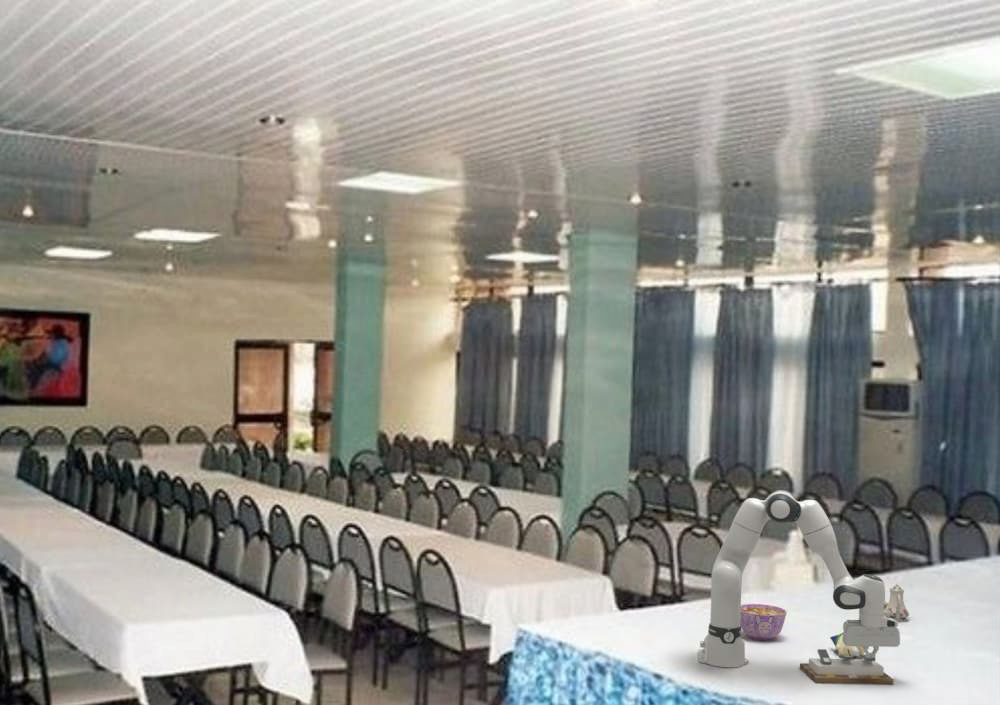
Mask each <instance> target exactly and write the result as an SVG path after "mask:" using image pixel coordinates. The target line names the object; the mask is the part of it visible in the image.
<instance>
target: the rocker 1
mask: <svg viewBox="0 0 1000 705" xmlns="http://www.w3.org/2000/svg"><path fill="white" fill-rule="evenodd" d="M817 653H818V656H819V659H821V661H822V663H823V664H826V665H831V663H832V662H831V660H830V659H831V658H830V655H829V653H828V651H827V649H826V648H825V649H820V648H819V649H817Z"/></svg>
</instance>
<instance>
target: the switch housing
mask: <svg viewBox="0 0 1000 705" xmlns="http://www.w3.org/2000/svg"><path fill="white" fill-rule="evenodd" d="M830 660H831V662H832V663H831V665H826V664H823V663H822V661H821V659H820V658H814V657H813V658H811V657H809V658H808V663H809V667H810V668H811V669H812V670H813V671H814V672H816V673H817V674H820V675H825V674H833V675H878V676H883V672H884V666H882V665H881V664H880V663H878V662H877V661H876V660H875V661H866V660H864V659H863V658H861V659H859V658H854V660H845V659H842V658H830Z"/></svg>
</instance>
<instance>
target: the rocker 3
mask: <svg viewBox="0 0 1000 705" xmlns="http://www.w3.org/2000/svg"><path fill="white" fill-rule="evenodd" d="M859 657H860V658H861V659H864V660H866V661H876V657H875V658H866V653H864V654H860V656H859Z"/></svg>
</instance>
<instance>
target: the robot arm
mask: <svg viewBox="0 0 1000 705" xmlns="http://www.w3.org/2000/svg"><path fill="white" fill-rule="evenodd" d="M770 520H771V521H774V522H776V523H781V524H783V523H796V525H797V527H798V528H799V530H800V533H801V535H802V537H803V539H804V542H805V543H806V544H807V546H808V547H809V549H810V550H811V552H812V553H814V554H816V555H818V556H819V557H820V558H821V559H822V560H823V562H824V564H825V566H826V568H827V570H828V571H829V574H830V576H831V578H832V582H833V593H832V598H833V602H834V603H835V604H834V605H836V607H837V608H838V607H839V608H840V609H842V610H847V611H849V610H858V619H847V620H846V621H844V622H843V624H842V625H843V626H842V629H843V632H842V633H843V639H842V641H843V643H844V644H845V645H846V646H863V649H864V651H865V653H864V654H866V658H875V659H876V654H877V653H878V651H879V650H880V647H883V648H885V647H886V648H887V647H890V648H893V647H894V648H898V647H899V646H900V644H901V636H900V630H899V628H898V626H899V622H897V621H896V620H894V619H892V618H890V617H887V616H885V611H884V603H885V601H886V587H885V582H884V581H883V579H882V578H881V577H880V576H877V575H874V574H867V573H866V574H865V573H863V574H862V575H860V576H859V577H857V578H855V577H853V575H851V573H850V572H849V571H848V569H847V566H846V564H845V563H844V562H845V561H844V560H843V558H842V556H841V554H840V552H839V547H838V541H837V538H836V533H835V531H834V528H833V525H832V524H831V521H830V519H829V517H828V516H827V514H826V512H825V511H824V509H823V507H822V506H821V505H820V503H819V502H818V501H817V500H814V499H805V500H802V501H799V500H796V498H795V496H794V495H793V493H791V492H790V491H788V490H785V489H778V490H774V491H773V492H771V493H770V494H768V495H767V496H765V497H764V498H763V500H762V499H759V498H755V497H751V498H750V497H749V498H746V499H745V500H744V501H743V502H742V504H741V505H740V507H739V509H738V510H737V512H736V514H735V517H734V519H733V521H732V522H731V525H730V528H729V530H728V532H727V534H726V536H725V539H724V541H723V543H722V545H721V548H720V550H719V552H718V554H717V556H716V558H715V561H714V563H713V566H712V570H711V580H710V582H711V583H710V584H711V585H710V586H711V588H710V589H711V591H710V620H709V621H710V622H709V624H708V630H707V635H706V636H705V637H704V640H701V641H700V642H699V644H700V645H699V647H700V649H698V650H697V656H698V662H699V663H703V664H707V665H711V666H713V667H719V668H720V667H721V668H738V667H742V666H743V665H746V664H749V663H750V660H749V659H748V658H746V643H745V640H744V639H743V638H742V633H743V632H742V631H743V630H742V628H741V626H740V616H741V605H742V587H743V586H742V584H743V583H742V582H743V574H744V571H745V569H746V566H747V565H748V562H749V561H750V558H751V557H752V554H753V553H754V550H755V548H756V546H757V544H758V540H759V539H760V536H761V534H762V532H763V529H764V527H765V525H766V524H767V522H768V521H770ZM869 647H872V648H873V650H872V651H871V652H870V651H869V649H870V648H869ZM701 648H702V649H701Z"/></svg>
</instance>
